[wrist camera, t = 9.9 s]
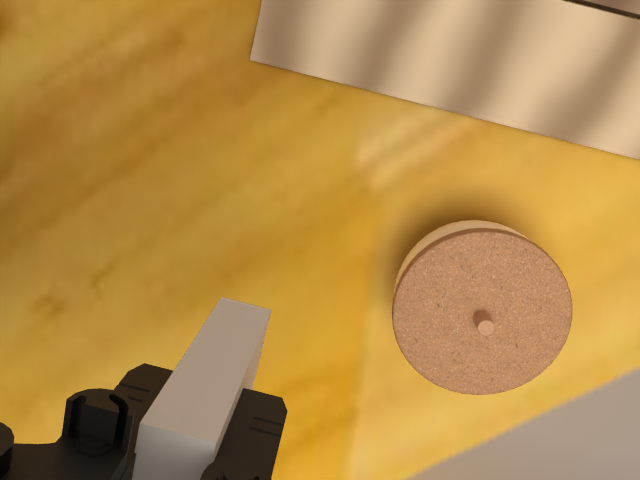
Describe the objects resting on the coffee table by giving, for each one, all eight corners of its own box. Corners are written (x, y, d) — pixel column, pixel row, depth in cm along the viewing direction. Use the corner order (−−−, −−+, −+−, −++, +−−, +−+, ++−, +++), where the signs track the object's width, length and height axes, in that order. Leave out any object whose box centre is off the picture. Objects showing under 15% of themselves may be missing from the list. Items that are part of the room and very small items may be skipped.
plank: (253, 60, 41) (249, 59, 40) (280, -66, 39) (277, -72, 38) (659, 164, 41) (670, 167, 39) (707, 42, 39) (720, 40, 37)
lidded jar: (434, 176, 43) (449, 206, 34) (569, 244, 43) (620, 291, 34) (363, 303, 46) (361, 362, 37) (490, 366, 46) (519, 438, 37)
